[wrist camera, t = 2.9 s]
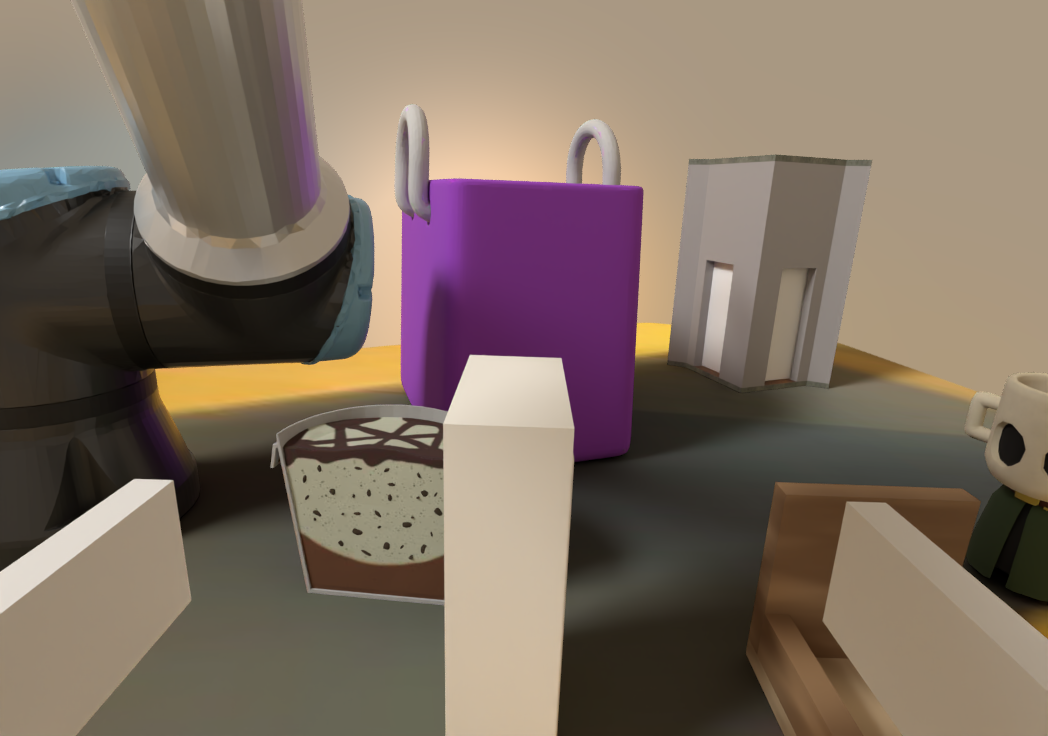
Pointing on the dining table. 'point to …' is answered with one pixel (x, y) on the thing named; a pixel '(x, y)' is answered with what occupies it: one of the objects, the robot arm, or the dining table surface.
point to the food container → (368, 501)
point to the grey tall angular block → (765, 268)
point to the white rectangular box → (506, 545)
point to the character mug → (1014, 484)
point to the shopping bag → (522, 280)
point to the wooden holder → (801, 593)
